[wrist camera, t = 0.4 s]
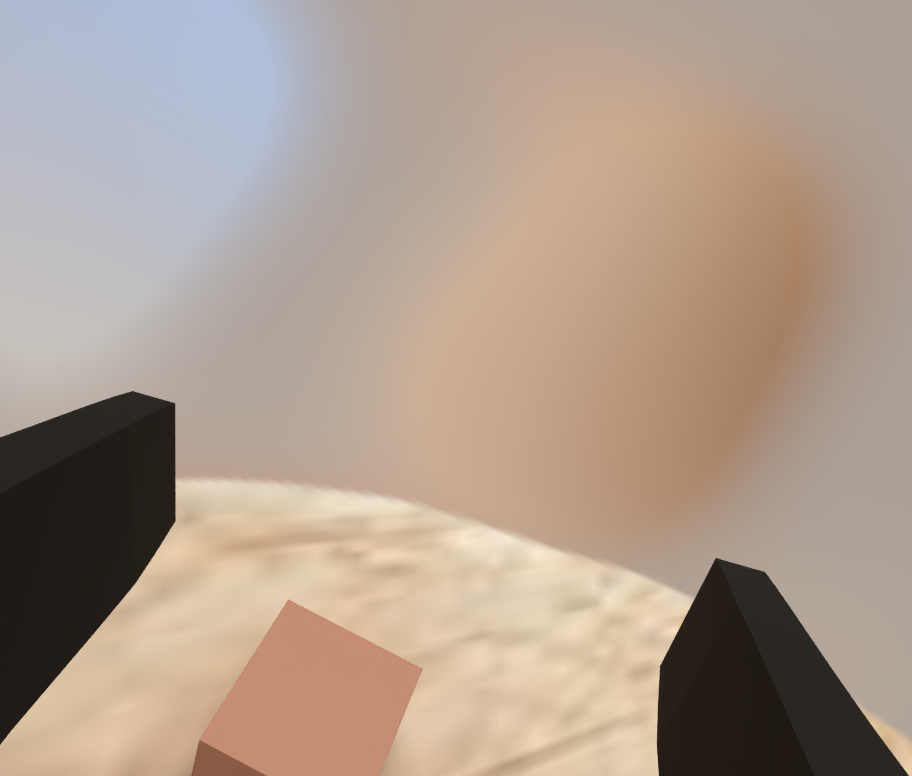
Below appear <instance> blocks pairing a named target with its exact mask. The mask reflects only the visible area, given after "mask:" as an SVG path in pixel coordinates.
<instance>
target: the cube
mask: <svg viewBox="0 0 912 776" xmlns="http://www.w3.org/2000/svg"><path fill="white" fill-rule="evenodd" d="M421 672H422V668H420V667H418V666H416V665H414V664H412V663H410V662H408V661H406V660H404V659H402V658H400V657H399V656H397V655H395V654H393V653H391V652H389V651H387V650H385V649H383V648H381V647H379V646H377V645H375V644H373V643H371V642H370V641H368V640H366V639H364V638H362V637H360V636H358V635H356V634H354V633H352V632H350V631H348V630H346V629H344V628H342V627H340V626H339V625H337V624H335V623H333V622H331V621H329V620H327V619H325V618H323V617H321V616H319V615H317V614H315V613H313V612H311V611H310V610H308V609H306V608H304V607H302V606H300V605H298V604H296V603H294V602H292V601H290V600H288V601H287V602H286V604H285V606H284V607H283V609H282V610H281V612H280V613H279V615H278V617H277V618H276V620H275V621H274V623H273V625H272V626H271V628H270V629H269V631H268V632H267V634H266V636H265V637H264V639H263V640H262V642H261V643H260V645H259V647H258V648H257V650H256V651H255V653H254V655H253V656H252V658H251V659H250V661H249V662H248V664H247V666H246V667H245V669H244V670H243V672H242V673H241V675H240V677H239V678H238V680H237V681H236V683H235V684H234V686H233V688H232V689H231V691H230V692H229V694H228V696H227V697H226V699H225V700H224V702H223V703H222V705H221V707H220V708H219V710H218V711H217V713H216V714H215V716H214V718H213V719H212V721H211V722H210V724H209V726H208V727H207V729H206V730H205V732H204V733H203V735H202V737H201V738H200V740H199V744H198V748H197V753H196V758H195V762H194V767H193V771H192V776H379V774H380V772H381V769H382V767H383V764H384V762H385V760H386V757H387V755H388V752H389V750H390V747H391V745H392V742H393V740H394V738H395V735H396V733H397V730H398V728H399V725H400V723H401V720H402V718H403V716H404V713H405V711H406V708H407V706H408V703H409V701H410V699H411V696H412V694H413V691H414V689H415V686H416V684H417V681H418V679H419V677H420V674H421Z"/></svg>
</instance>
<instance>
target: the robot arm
mask: <svg viewBox="0 0 912 776" xmlns="http://www.w3.org/2000/svg"><path fill="white" fill-rule="evenodd" d="M175 521H176V519H175V403H172V402H168V401H165V400H162V399H158V398H155V397H151V396H147V395H144V394H140V393H137V392H134V391H132V392H129V393H125V394H121V395H118V396H115V397H112V398H109V399H106V400H103V401H100V402H97V403H94V404H91V405H88V406H86V407H83V408H80V409H77V410H74V411H72V412H69V413H66V414H64V415H61V416H58V417H55V418H53V419H50V420H47V421H44V422H42V423H39V424H36V425H34V426H31V427H28V428H25V429H23V430H20V431H17V432H14V433H11V434H9V435H6V436H3V437H0V744H1V743H2V742H3V740H4V739H5V738H6V737H7V735H8V734H9V733H10V732H11V730H12V729H13V728H14V727H15V725H16V724H17V723H18V722H19V721H20V720H21V718H22V717H23V716H24V715H25V714H26V713H27V711H28V710H29V709H30V708H31V707H32V706H33V704H34V703H35V702H36V701H37V700H38V698H39V697H40V696H41V695H42V694H43V693H44V691H45V690H46V689H47V688H48V687H49V686H50V684H51V683H52V682H53V681H54V680H55V678H56V677H57V676H58V675H59V674H60V673H61V671H62V670H63V669H64V668H65V667H66V666H67V664H68V663H69V662H70V661H71V660H72V658H73V657H74V656H75V655H76V654H77V653H78V651H79V650H80V649H81V648H82V647H83V646H84V644H85V643H86V642H87V641H88V640H89V639H90V637H91V636H92V635H93V634H94V633H95V631H96V630H97V629H98V628H99V627H100V625H101V624H102V623H103V622H104V621H105V619H106V618H107V617H108V616H109V615H110V613H111V612H112V611H113V610H114V609H115V608H116V606H117V605H118V604H119V603H120V602H121V600H122V599H123V598H124V597H125V595H126V594H127V593H128V592H129V591H130V589H131V588H132V587H133V586H134V584H135V583H136V582H137V580H138V579H139V577H140V576H141V574H142V573H143V571H144V570H145V568H146V567H147V565H148V564H149V562H150V561H151V559H152V558H153V556H154V555H155V553H156V551H157V550H158V548H159V547H160V545H161V543H162V542H163V540H164V539H165V537H166V535H167V534H168V532H169V531H170V529H171V527H172V526H173V524H174V523H175ZM657 754H658V768H659V776H909V775H908V774H907V773H906V771H905V770H904V769H903V767H902V766H901V765H900V763H899V762H898V761H897V759H896V758H895V757H894V755H893V754H892V752H891V751H890V750H889V748H888V747H887V746H886V744H885V743H884V742H883V740H882V739H881V738H880V736H879V735H878V733H877V732H876V731H875V729H874V728H873V727H872V725H871V724H870V722H869V721H868V720H867V718H866V717H865V715H864V714H863V713H862V711H861V710H860V708H859V707H858V706H857V704H856V703H855V701H854V700H853V698H852V697H851V696H850V694H849V693H848V691H847V690H846V688H845V687H844V686H843V684H842V683H841V681H840V680H839V678H838V677H837V676H836V674H835V673H834V671H833V670H832V668H831V667H830V666H829V664H828V662H827V661H826V660H825V658H824V657H823V655H822V654H821V652H820V651H819V649H818V648H817V646H816V645H815V643H814V642H813V641H812V639H811V638H810V636H809V635H808V633H807V632H806V630H805V629H804V627H803V626H802V624H801V623H800V621H799V620H798V618H797V617H796V616H795V614H794V613H793V611H792V610H791V608H790V607H789V605H788V604H787V602H786V601H785V600H784V598H783V597H782V595H781V594H780V592H779V591H778V589H777V588H776V587H775V585H774V584H773V583H772V581H771V580H770V578H769V577H768V576H767V574H766V573H765V572H763V571H759V570H755V569H752V568H749V567H745V566H742V565H738V564H735V563H731V562H728V561H724V560H721V559H717V558H716V559H715V561H714V563H713V565H712V567H711V569H710V571H709V573H708V575H707V576H706V578H705V580H704V582H703V584H702V586H701V588H700V590H699V592H698V594H697V596H696V598H695V600H694V601H693V603H692V605H691V607H690V609H689V611H688V613H687V615H686V617H685V619H684V621H683V623H682V625H681V627H680V629H679V631H678V633H677V634H676V636H675V638H674V640H673V642H672V644H671V646H670V648H669V650H668V652H667V654H666V656H665V658H664V660H663V662H662V664H661V665H660V679H659V698H658V724H657Z"/></svg>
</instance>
